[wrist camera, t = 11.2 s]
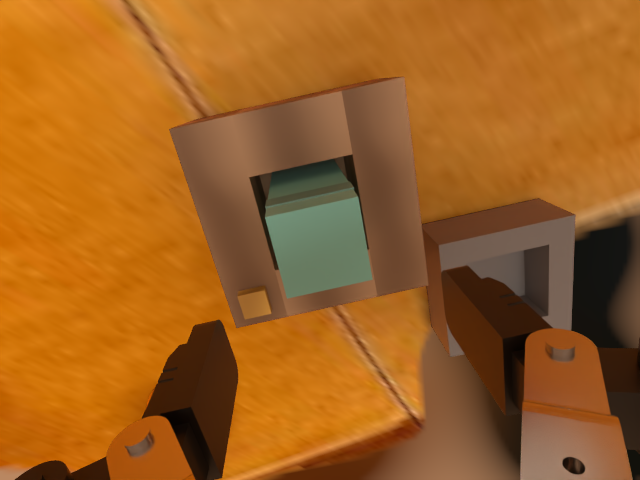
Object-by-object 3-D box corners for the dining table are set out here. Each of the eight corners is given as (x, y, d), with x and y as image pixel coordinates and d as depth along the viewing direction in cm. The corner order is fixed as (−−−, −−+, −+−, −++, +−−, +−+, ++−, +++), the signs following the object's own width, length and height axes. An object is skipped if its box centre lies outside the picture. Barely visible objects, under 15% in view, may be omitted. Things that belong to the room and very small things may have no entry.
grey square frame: (538, 198, 29) (575, 214, 26) (538, 302, 33) (571, 330, 29) (419, 225, 29) (438, 245, 26) (431, 326, 33) (449, 357, 29)
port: (378, 78, 25) (407, 76, 19) (401, 247, 30) (431, 289, 24) (194, 119, 25) (165, 130, 19) (245, 282, 30) (235, 333, 24)
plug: (332, 155, 26) (359, 195, 17) (344, 214, 27) (373, 280, 18) (271, 169, 26) (263, 216, 17) (286, 227, 27) (286, 299, 18)
